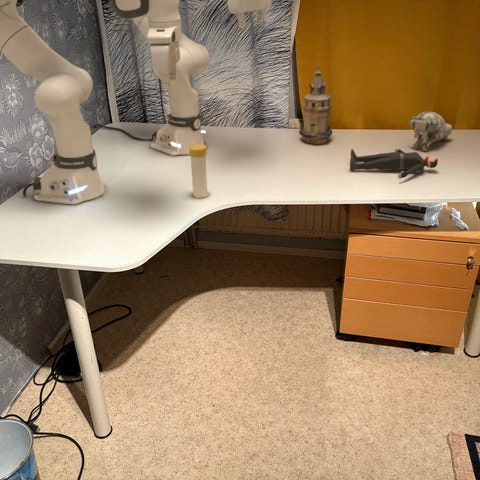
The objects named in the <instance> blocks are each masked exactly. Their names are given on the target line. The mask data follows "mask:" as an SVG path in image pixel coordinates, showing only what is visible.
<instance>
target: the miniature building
mask: <svg viewBox="0 0 480 480" xmlns="http://www.w3.org/2000/svg"><path fill="white" fill-rule="evenodd" d="M320 67H321V66H320V65H317V66H316V68H317V69H316V71H315V72H314V75H315V76H314V79H313V81H312V83H310V84H309V85H308V86H309V93H307V94H306V95H304V96H303V97H302V98H303V105H301V106H302V109H303V114H302V115H303V124H302V127H300V129H299V132H298V134H299V136H300V137H302V139H303V141H305V142H307V143H309V144H314V145H320V144H321V145H322V144H325V143H326V142H327V141H328V140H329V139H330V137H332V135H333V129H331V125H329V120H330V115H331V108H332V106H333V105H332V104H331V98H332V96H331V95H330V94H328V93H326V81H324V82H323V78H322V71H321V70H320Z"/></svg>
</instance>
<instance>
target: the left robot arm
mask: <svg viewBox="0 0 480 480" xmlns="http://www.w3.org/2000/svg"><path fill="white" fill-rule="evenodd" d="M23 3H24V0H0V52H1V53H2V54H3V55H4V56H5V57H6V58H7V60H9V62H11V63H12V64H13V65H14V66H15V67H16V69H18V70H19V71H20V72H21V73H22V74H24V75H27V76H29V77H32V78H34V79H35V80H37V81H38V82H40V84H39V85H38V87H36V89H35V91H34V95H33V99H34V100H33V101H34V103H35V105H36V108H37V109H38V110H39V111H40V113H42V114H44V115H45V116H46V119H47V120H48V122H49V125H50V127H51V129H52V132H53V136H54V141H55V145H56V146H55V147H56V151H55V153H54V154H52V157H51V158H50V159H51V163H53V164H52V166H50V167H49V168H48V169H47V170H46V171H44V173H43V174H42V175H41V176H36V177H34V178H33V181H32V182H30V183H28V184H27V185H25V186H24V187H23V189H22V196H23V197H26V196H27V190H28V189H29V188H31V187H32V190H33V191H35V192H34V194H33V199H34V201H38V202H45V203H46V202H47V203H55V204H65V205H71V206H72V205H78V204H80V203H82V202H86V201H90V200H93V199H96V198H98V197H100V196H102V195H103V194H104V193H105V191H106V188H105V187H104V186H105V185H104V184H103V182H102V180H101V177H100V173H99V170H98V158H97V154H96V150H95V148H94V144H93V138H92V130H91V127H90V125H89V124H88V123H87V122H86V120H85V118H84V116H83V114H82V112H81V104H83V103H85V102H86V101H87V100H88V99H89V98H90V95H92V91H93V88H94V81H93V78H92V77H91V75H90V74H89V72H87V71H86V70H85V69H84V68H81V67H78V66H76V65H74V64H73V63H72V62H70V61H69V60H67V59H66V58H64V57H63V56H62V55H60V54H59V53H58V52H56V51H55V50H54V49H52V48H51V46H49V45H48V44H47V43H46V42H45V41H44V39H42V38H41V37H40V35H39V34H38V33H37V32H36V31H35V30H34V29H33V28H32V27H31V26H30V24H28V23H27V22H26V21H25V20H24V18H23V17H21V14H19V12H18V9H17V7H21V6H22V5H23ZM109 4H110V7H111V9H112V11H113V12H114V14H116V16H118V17H119V18H120V19H125V20H133V19H135V18H139V17H142V16H146V17H147V20H148V35H147V39H146V41H147V44H148V45H150V44H151V45H150V47H149V48H150V57H151V62H152V63H153V67H152V70H153V69H154V71H153V73H154V72H155V73H154V75H155V74H160V77H161V80H160V81H161V85H162V88H163V89H165V90H167V89H168V88H169V87H170V81H172V80H173V81H174V80H175V79H176V63H177V62H178V61H179V60H180V50H179V41H178V39H181V38H182V33H183V30H182V17H181V15H180V10H179V8H180V0H109ZM152 63H151V64H152ZM168 76H169V77H168ZM169 80H170V81H169Z"/></svg>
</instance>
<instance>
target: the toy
mask: <svg viewBox="0 0 480 480" xmlns="http://www.w3.org/2000/svg"><path fill="white" fill-rule="evenodd" d="M438 161H439V159H438V157H436V156H432V155H431V156H426V157H425V158H423V157H422V156H421V155H420V153H418V152H416V151H413V152H405V151H403V150H402V149H401V148H394V150H393V151H391V152H384V153H377V154H368V155H362V156H361V155H360V156H358V155H357V154H356V152H355V150H354V148H351V150H350V160H349V170H350V172H354V171H356V170H357V171H358V170H366V171H368V170H369V171H370V170H379V171H381V170H382V171H384V170H385V171H388V170H389V171H397V170H400V169H406V171H405V170H402V171H401V172H400V173H398V174H397V178H398V179H399V180H400V179H404V178H406V177H408V175H411V174H414V173H415V174H416V173H422V172H423V171H424V168H425V167H427V168H429V169H434V168H436V167H437V166H438V164H439V163H438Z"/></svg>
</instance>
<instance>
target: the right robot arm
mask: <svg viewBox="0 0 480 480" xmlns="http://www.w3.org/2000/svg"><path fill="white" fill-rule="evenodd" d="M272 2H273V1H272V0H227V9H228V13H230V14H232V15H236V19H237V21H238V28H239V29H245V28H247V22H246V21H245V18H244V17H245V13H250V12H255V11H256V13H257V15H256V18H255V19H254V21H255V23H254V24H255V25H262V24H263V18H264V15H265V10H266V9H270V8H271V6H272ZM132 21H133V22H134V24H135V26H136V27H137V28H138V30H139V31H140V33H141V34H142V35H143V37H144V38H145V39H146V40H147V35H148V20H147V17H146V16H142V17H139V18H135V19H132ZM178 41H179V50H180V60H179V61H178V62H177V63H176V79H175V80H174V81H173V80H172V81H170V80H169V81H170V87H169V88H168V89H166V90H167V94H168V99H169V106H170V107H169V108H170V109H169V110H170V113H168V114H167V115H165V119H166V120H167V123H166V124H164V125H163V126H162V127H161V128H160V129H158V130H156V131H154V132H153V134H152V135H151V138H149V139H147V138H146V139H144V138H141V137H137V136H133V135H132V134H131V133H129V132H127V131H126V130H125V129H122V128H119V127H113V126H107V125H104V124H100V123H98V124H97V123H96V124H95V125H93V128H97V127H101V128H103V129H109V130H115V131H121V132H122V133H124V134H126V135H128V136H129V137H130V138H132V139H135V140H139V141H145V142H151V144H150V148H152V149H154V150H157V151H159V152H161V153H164V154H167V155H169V156H174V157H175V156H176V157H177V156H182V155H183V156H186V155H189V147H190V146H191V145H195V144H202V145H205V142H204V139H203V138H204V137H203V134H206V130H202V127H201V126H202V115H201V112H200V100H199V99H200V98H199V97H200V95H199V92H198V91H197V90H196V89H195V88H194V87H192V86H191V83H190V77H191V76H194V75H197V74H199V73H201V72H203V71H204V70H205V69H207V68H208V66H209V64H210V53H209V51H208V50H207V48H206V47H205V46H204V45H202V44H200V43H198V42H195V41H194V40H192V39H191V38H189V37H188V36H187V35H186V34H184V33H183V32H182V38H181V39H178ZM149 45H151V44H149ZM151 65H152V71H153V73H154V75H155V77H156V78H157V79H159V80H160V81H161V77H160V74H155V72H154V69H153V63H151ZM168 77H169V76H168ZM153 140H155V141H153ZM152 141H153V142H152Z"/></svg>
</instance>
